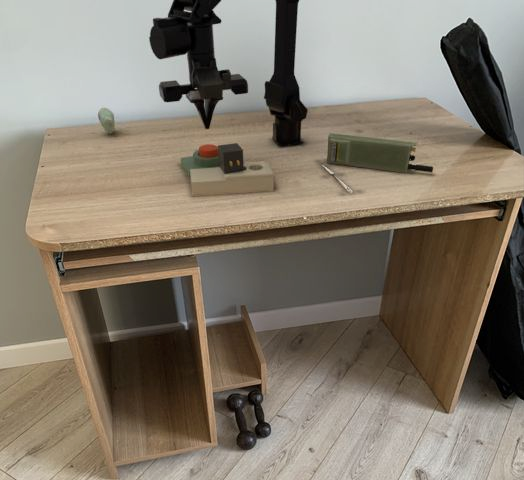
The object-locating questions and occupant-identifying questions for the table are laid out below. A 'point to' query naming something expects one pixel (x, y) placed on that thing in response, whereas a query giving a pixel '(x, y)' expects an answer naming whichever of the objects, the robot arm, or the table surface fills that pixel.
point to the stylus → (339, 180)
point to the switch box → (198, 162)
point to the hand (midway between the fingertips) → (207, 128)
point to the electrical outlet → (233, 179)
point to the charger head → (230, 158)
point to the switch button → (208, 151)
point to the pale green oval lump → (106, 119)
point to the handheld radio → (372, 153)
